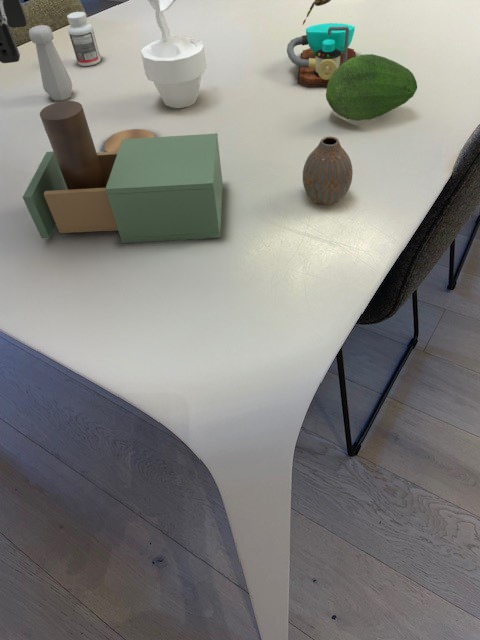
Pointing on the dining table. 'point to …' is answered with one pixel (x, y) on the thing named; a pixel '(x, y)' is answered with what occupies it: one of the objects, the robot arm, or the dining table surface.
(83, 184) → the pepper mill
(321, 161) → the vase
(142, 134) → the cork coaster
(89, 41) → the pill bottle
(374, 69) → the fruit
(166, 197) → the cabinet
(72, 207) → the drawer
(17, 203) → the dining table surface
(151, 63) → the potted plant
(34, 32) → the salt shaker
